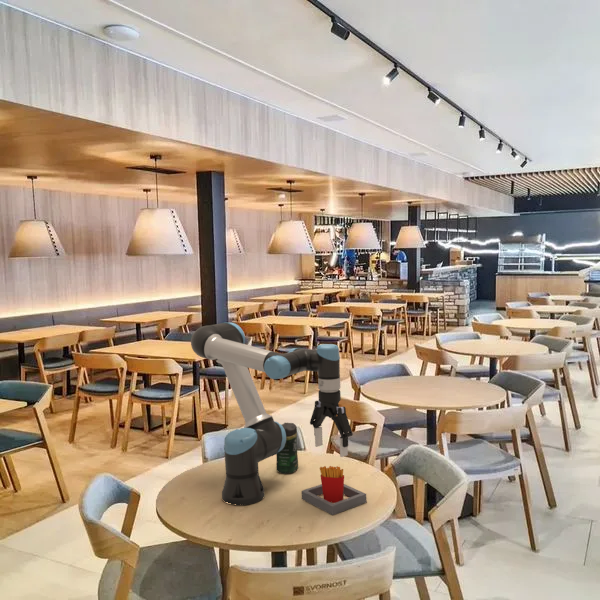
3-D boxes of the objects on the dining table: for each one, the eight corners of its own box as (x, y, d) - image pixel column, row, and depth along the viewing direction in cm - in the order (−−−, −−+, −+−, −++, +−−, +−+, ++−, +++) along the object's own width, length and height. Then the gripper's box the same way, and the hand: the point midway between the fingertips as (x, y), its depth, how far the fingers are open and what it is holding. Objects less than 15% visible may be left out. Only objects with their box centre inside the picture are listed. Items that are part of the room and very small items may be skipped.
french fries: (345, 499, 201) (344, 465, 200) (343, 503, 197) (341, 469, 197) (322, 496, 204) (321, 463, 203) (319, 501, 200) (318, 467, 199)
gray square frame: (301, 499, 203) (301, 490, 202) (334, 487, 211) (334, 479, 211) (332, 515, 189) (332, 506, 189) (366, 502, 198) (366, 493, 197)
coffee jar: (293, 475, 226) (291, 428, 224) (274, 473, 228) (272, 427, 227) (301, 466, 235) (299, 421, 233) (282, 465, 237) (280, 420, 236)
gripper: (299, 385, 205) (300, 444, 207) (344, 398, 185) (346, 463, 187) (315, 382, 210) (317, 439, 211) (362, 394, 190) (363, 457, 191)
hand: (331, 450), depth 199 cm, fingers open, 13 cm apart
